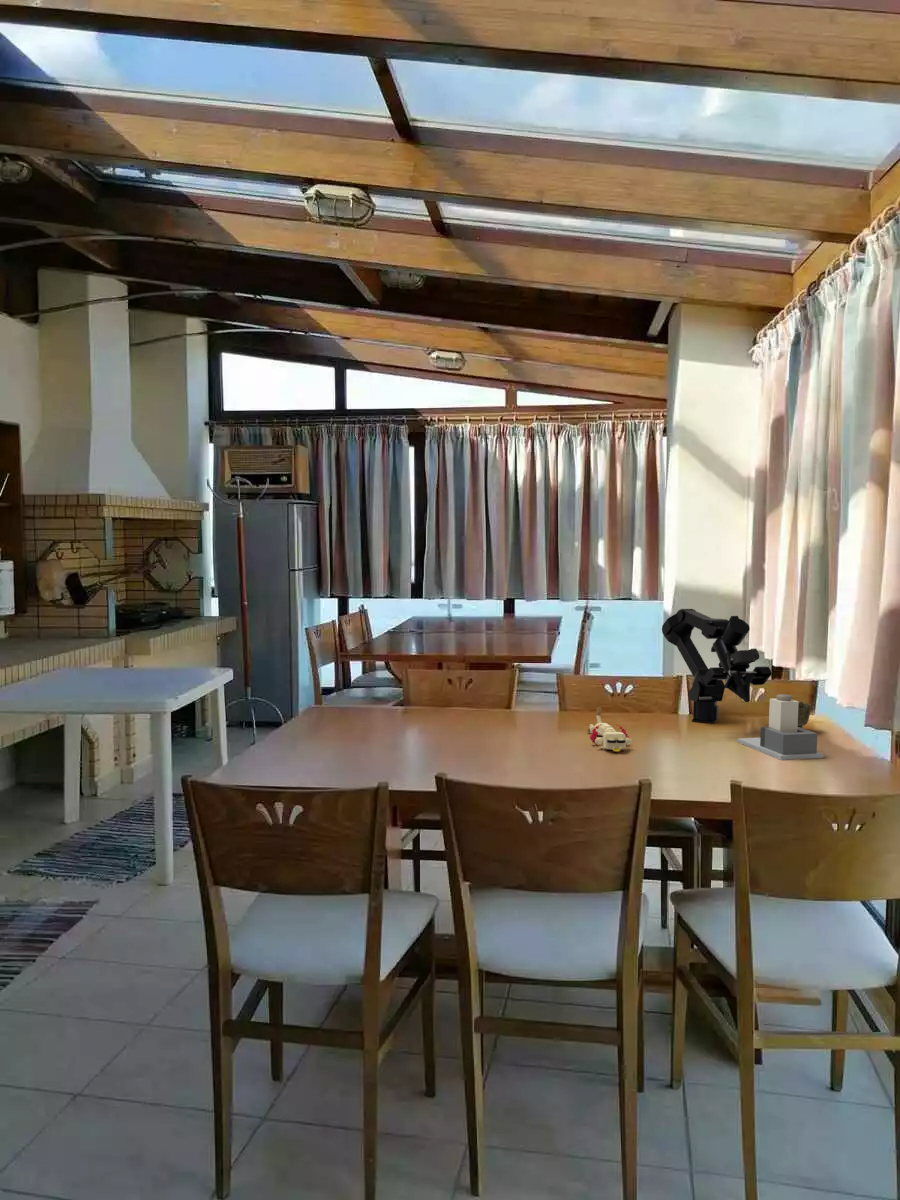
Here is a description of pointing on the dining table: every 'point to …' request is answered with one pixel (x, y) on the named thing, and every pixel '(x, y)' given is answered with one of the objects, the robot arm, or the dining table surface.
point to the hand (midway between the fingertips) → (748, 701)
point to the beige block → (783, 714)
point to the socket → (785, 744)
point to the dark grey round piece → (803, 714)
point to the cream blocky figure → (608, 735)
